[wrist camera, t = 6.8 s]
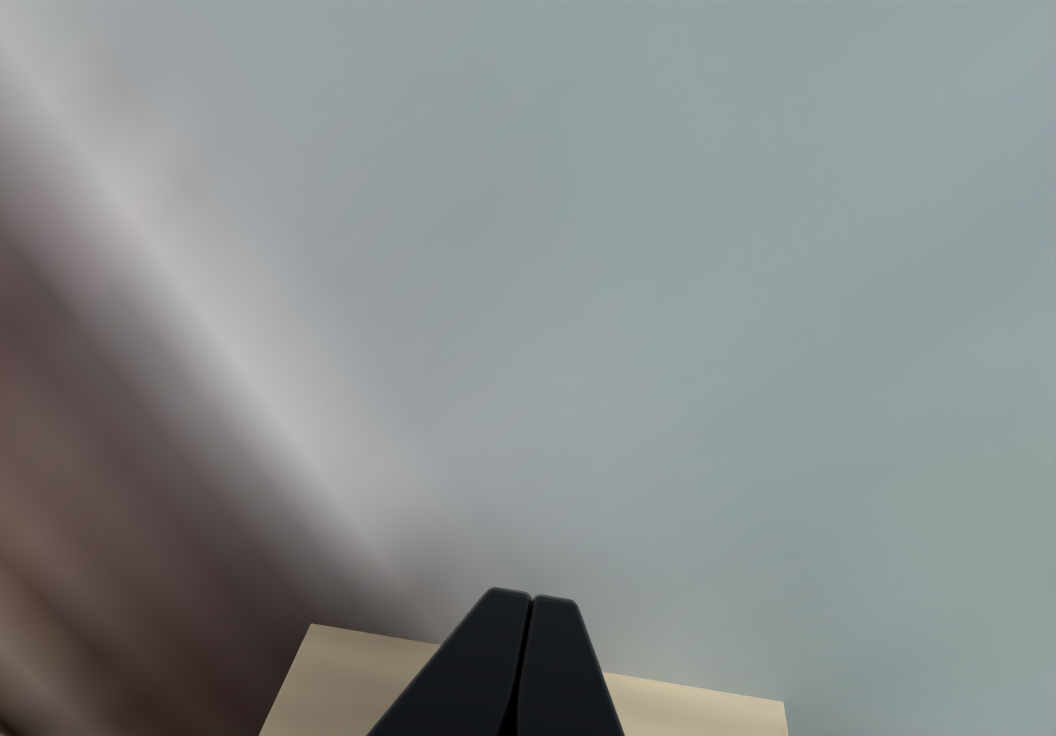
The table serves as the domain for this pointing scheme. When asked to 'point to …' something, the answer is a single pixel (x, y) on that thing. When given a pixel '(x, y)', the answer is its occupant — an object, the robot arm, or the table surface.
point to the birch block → (391, 663)
